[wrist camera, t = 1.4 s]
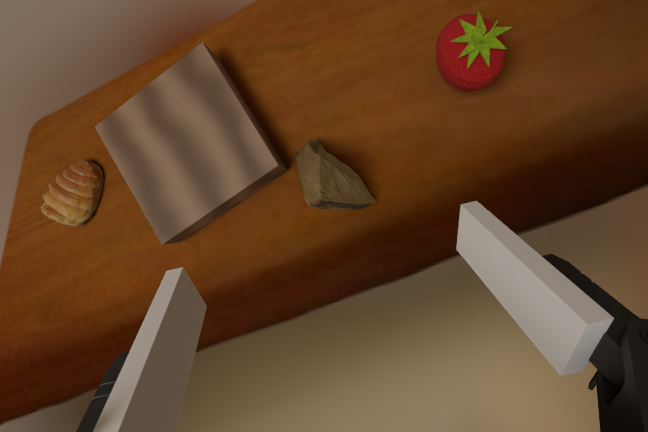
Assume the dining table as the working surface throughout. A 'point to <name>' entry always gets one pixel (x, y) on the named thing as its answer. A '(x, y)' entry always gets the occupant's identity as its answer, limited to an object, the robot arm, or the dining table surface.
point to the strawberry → (470, 52)
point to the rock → (329, 180)
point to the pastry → (74, 193)
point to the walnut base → (189, 146)
